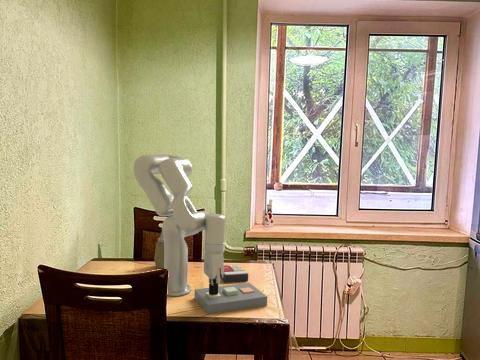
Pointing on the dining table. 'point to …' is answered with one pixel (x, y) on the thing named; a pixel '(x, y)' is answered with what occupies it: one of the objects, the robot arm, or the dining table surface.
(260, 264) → the dining table surface
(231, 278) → the button control box
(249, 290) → the key terracotta
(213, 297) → the key ivory
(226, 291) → the key sage
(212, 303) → the keypad
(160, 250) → the squeeze bottle
